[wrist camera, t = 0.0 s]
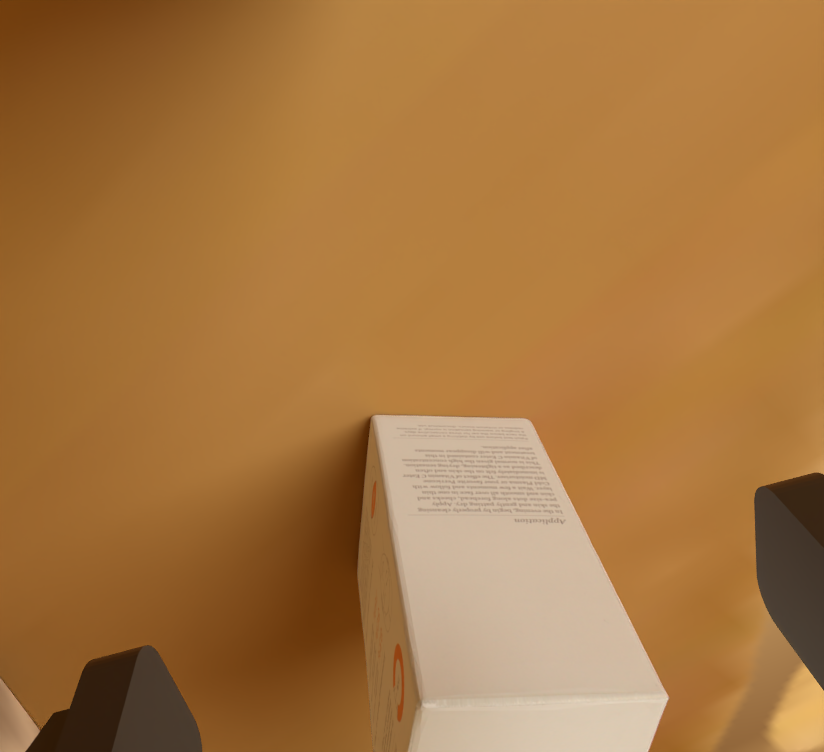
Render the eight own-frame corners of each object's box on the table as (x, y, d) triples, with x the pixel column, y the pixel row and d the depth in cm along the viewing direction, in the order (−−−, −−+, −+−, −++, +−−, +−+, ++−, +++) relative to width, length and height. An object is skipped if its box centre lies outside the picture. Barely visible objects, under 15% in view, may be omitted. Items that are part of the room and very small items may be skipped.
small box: (501, 574, 33) (602, 894, 22) (354, 574, 32) (380, 910, 21) (534, 413, 29) (677, 699, 18) (369, 408, 28) (410, 707, 17)
